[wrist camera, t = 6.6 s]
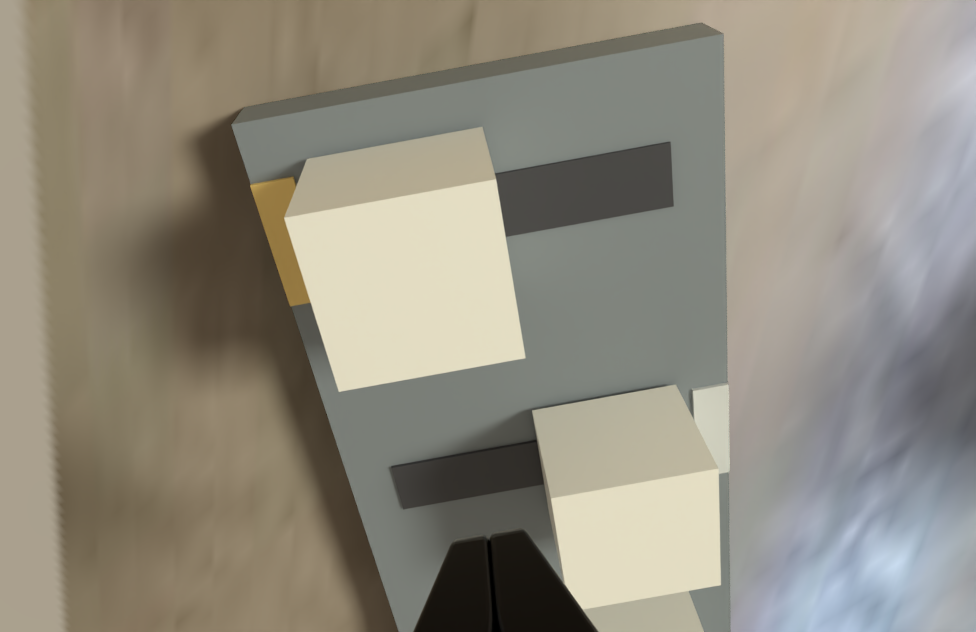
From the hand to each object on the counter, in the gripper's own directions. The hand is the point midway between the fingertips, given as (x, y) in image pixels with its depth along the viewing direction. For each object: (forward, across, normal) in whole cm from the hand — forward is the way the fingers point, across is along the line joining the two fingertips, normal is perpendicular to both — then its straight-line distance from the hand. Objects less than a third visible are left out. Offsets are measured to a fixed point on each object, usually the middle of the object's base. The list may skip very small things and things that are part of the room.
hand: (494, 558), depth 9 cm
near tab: (+11, +1, 0) cm, 11 cm away
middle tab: (+11, -3, +8) cm, 14 cm away
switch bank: (+12, -1, +8) cm, 15 cm away
